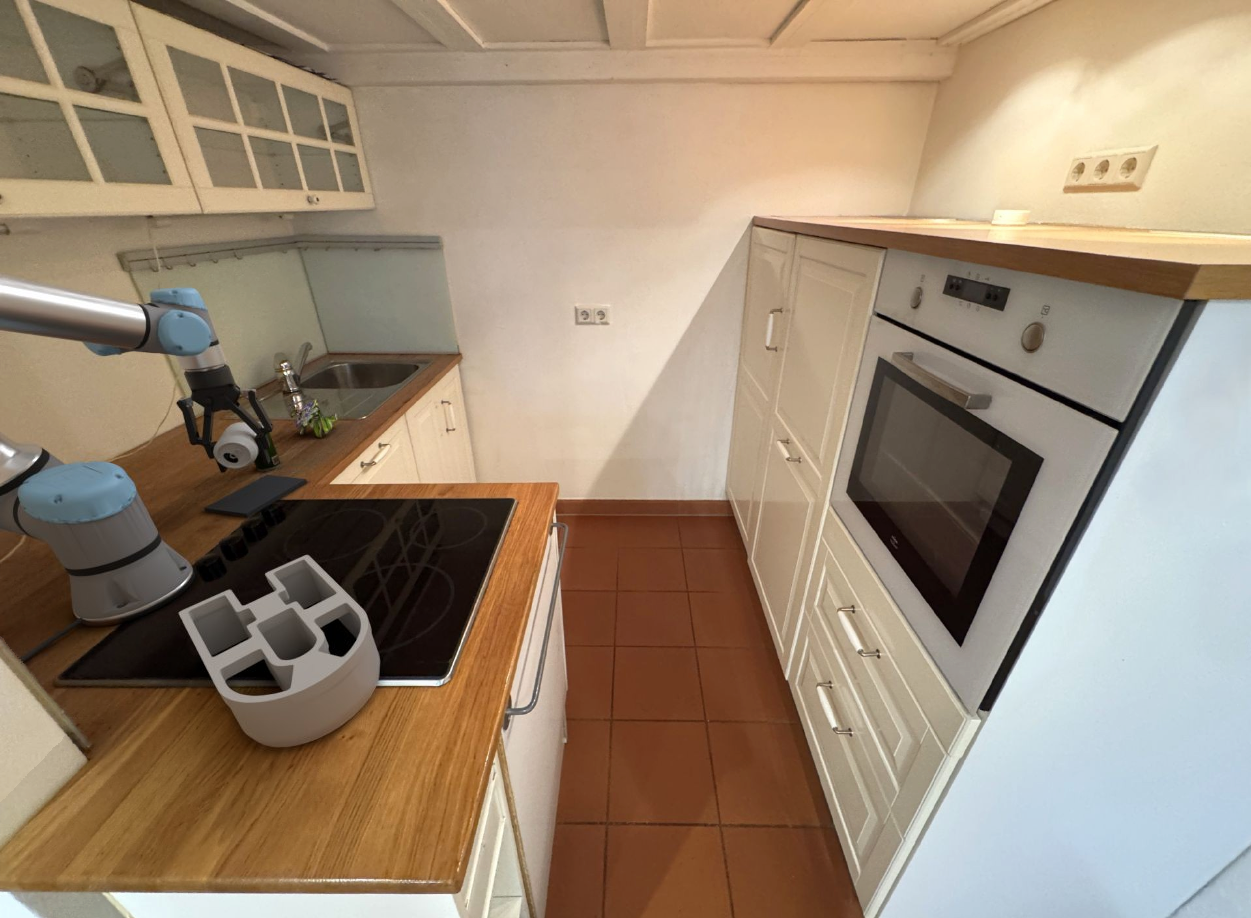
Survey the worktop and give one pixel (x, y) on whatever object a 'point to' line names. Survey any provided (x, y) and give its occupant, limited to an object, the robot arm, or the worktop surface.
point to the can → (236, 446)
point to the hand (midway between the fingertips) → (246, 465)
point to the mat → (255, 496)
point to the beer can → (273, 456)
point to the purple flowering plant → (309, 415)
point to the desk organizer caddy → (288, 654)
